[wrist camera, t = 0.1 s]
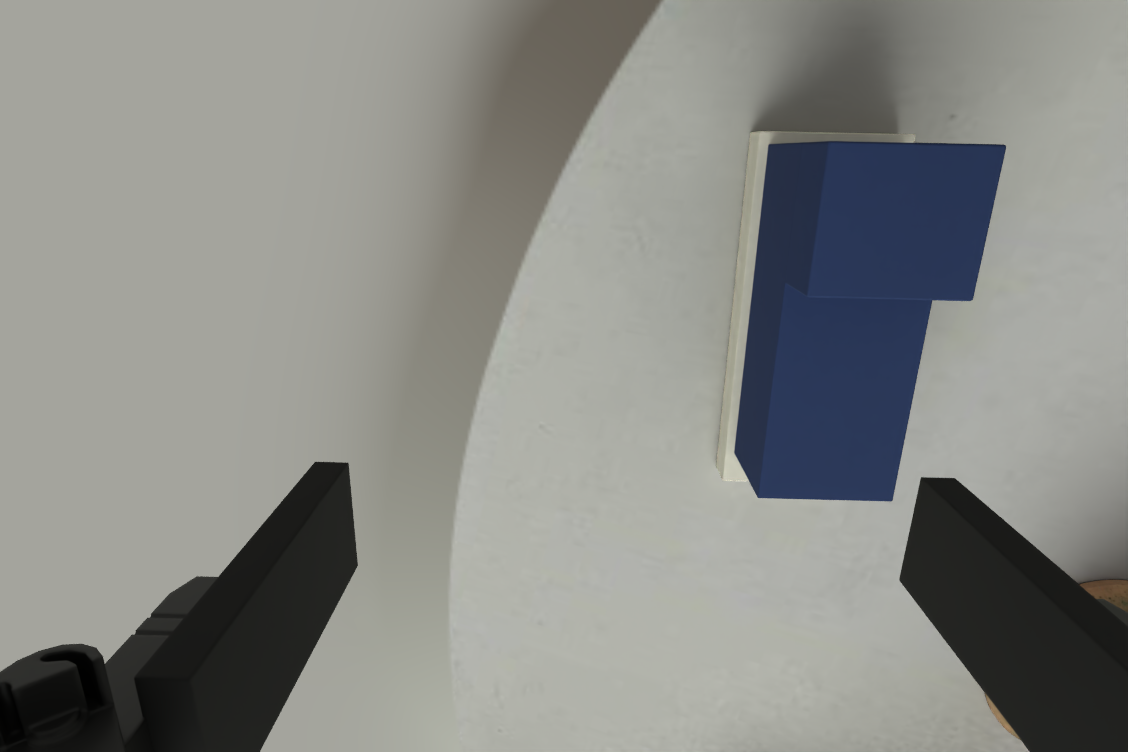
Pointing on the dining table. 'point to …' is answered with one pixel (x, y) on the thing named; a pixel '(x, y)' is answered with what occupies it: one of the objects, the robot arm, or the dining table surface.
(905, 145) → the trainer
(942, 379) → the dining table surface
